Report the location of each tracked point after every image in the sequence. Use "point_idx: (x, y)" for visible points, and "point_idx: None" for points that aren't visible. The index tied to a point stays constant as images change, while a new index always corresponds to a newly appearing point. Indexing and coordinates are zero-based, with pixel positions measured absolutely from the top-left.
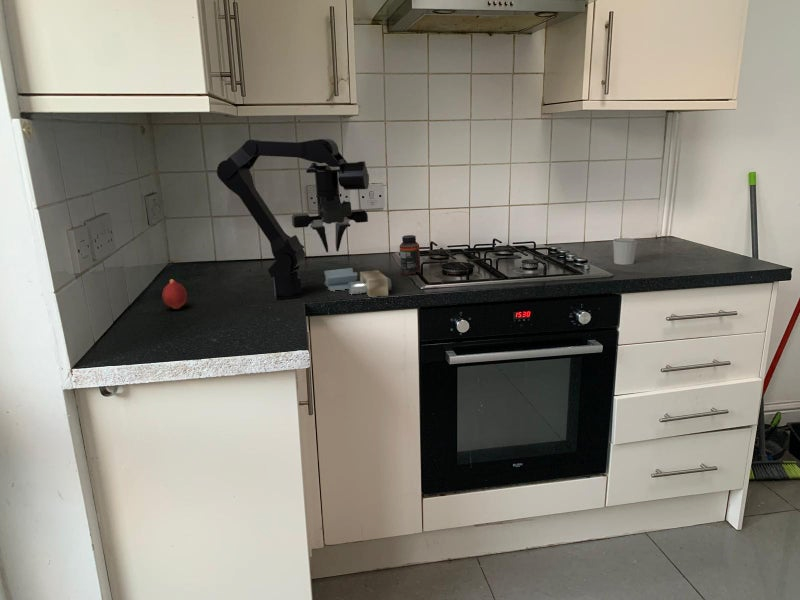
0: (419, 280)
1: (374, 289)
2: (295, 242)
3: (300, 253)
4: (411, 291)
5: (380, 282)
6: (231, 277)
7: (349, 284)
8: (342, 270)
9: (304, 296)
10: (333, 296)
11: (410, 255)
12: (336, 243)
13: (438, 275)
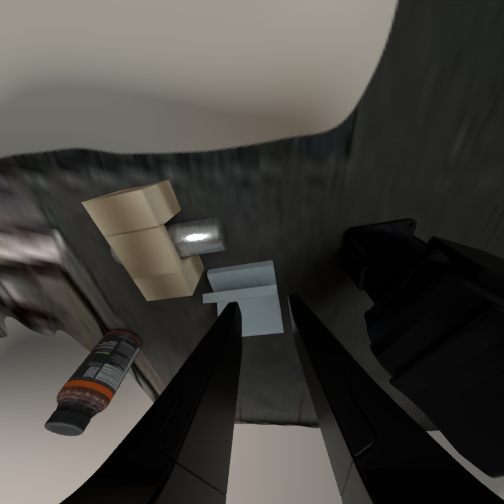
0: (90, 295)
1: (143, 186)
2: (485, 406)
3: (414, 335)
4: (73, 216)
5: (112, 194)
6: None
7: (220, 238)
8: (242, 331)
9: (335, 237)
10: (266, 219)
11: (89, 367)
12: (231, 346)
13: (65, 317)
